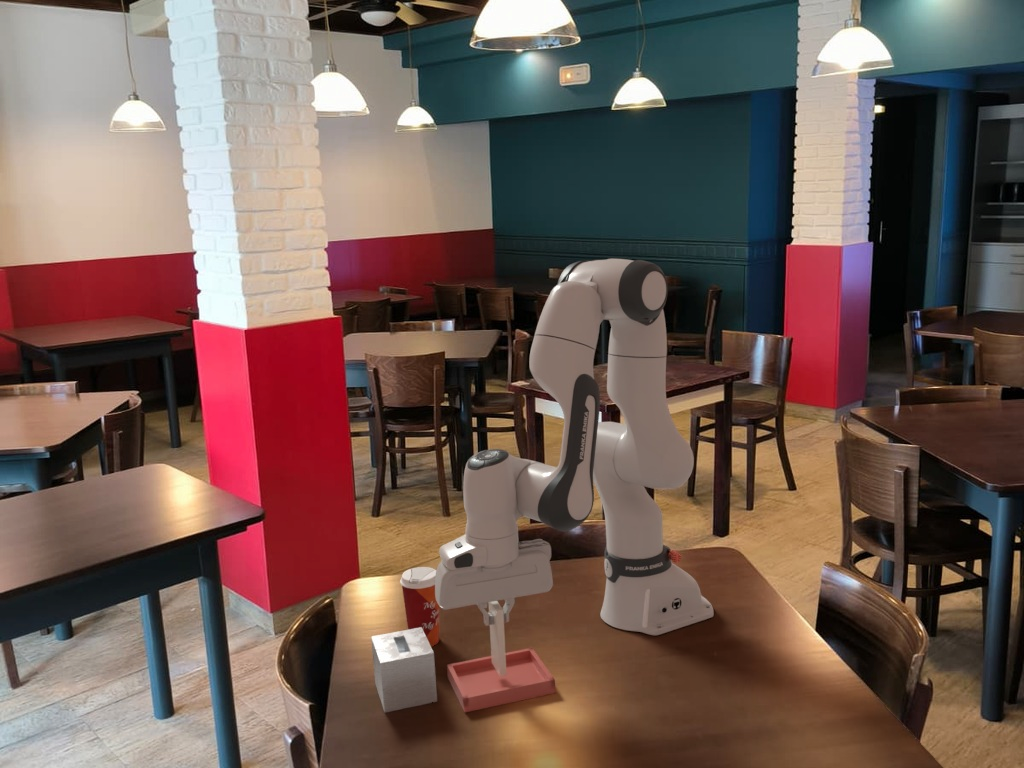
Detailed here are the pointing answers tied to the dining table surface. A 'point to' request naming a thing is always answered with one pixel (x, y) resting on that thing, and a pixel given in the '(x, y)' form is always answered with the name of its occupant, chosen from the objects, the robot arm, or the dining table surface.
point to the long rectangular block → (497, 638)
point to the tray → (500, 680)
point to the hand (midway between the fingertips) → (496, 622)
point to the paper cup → (421, 601)
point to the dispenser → (404, 669)
